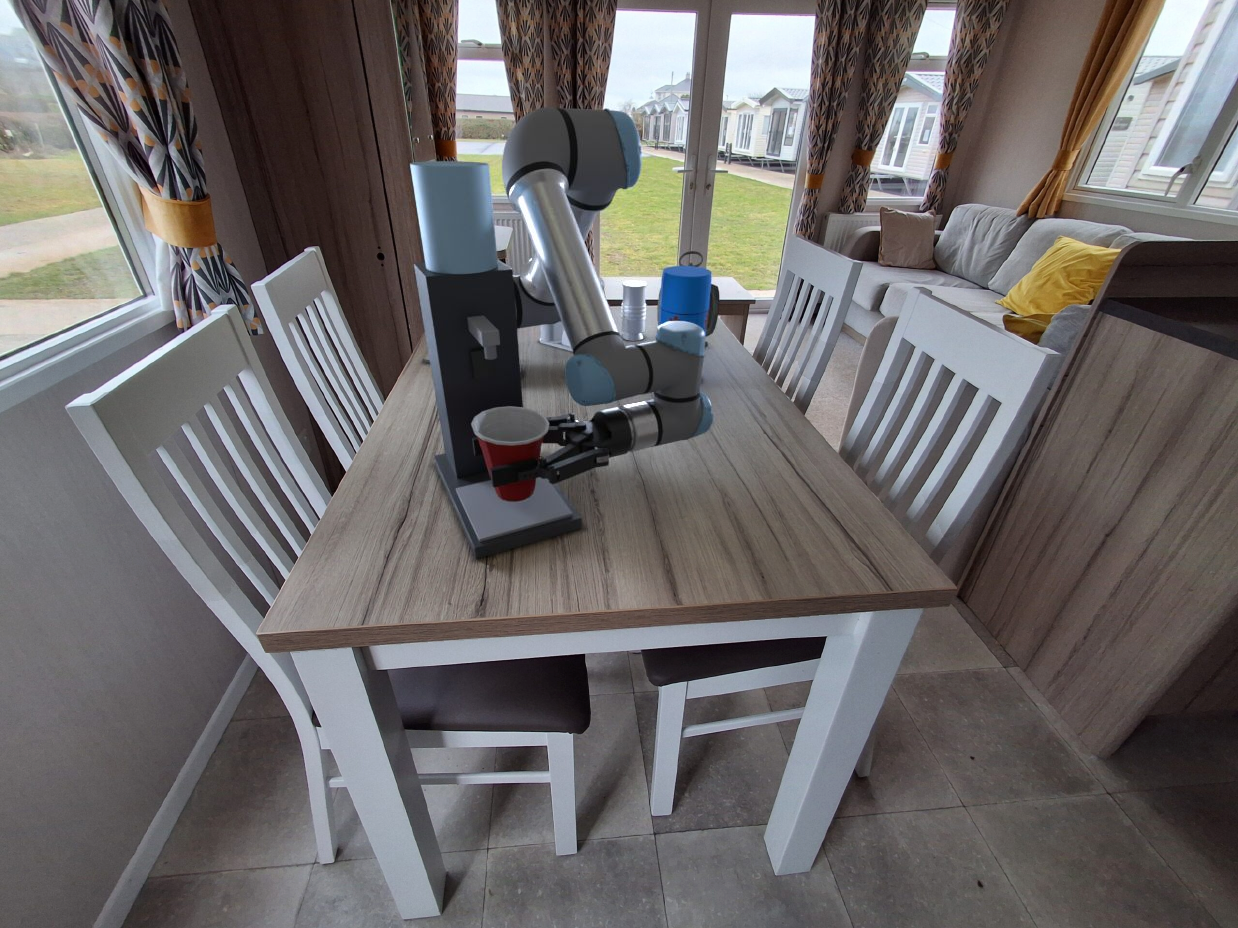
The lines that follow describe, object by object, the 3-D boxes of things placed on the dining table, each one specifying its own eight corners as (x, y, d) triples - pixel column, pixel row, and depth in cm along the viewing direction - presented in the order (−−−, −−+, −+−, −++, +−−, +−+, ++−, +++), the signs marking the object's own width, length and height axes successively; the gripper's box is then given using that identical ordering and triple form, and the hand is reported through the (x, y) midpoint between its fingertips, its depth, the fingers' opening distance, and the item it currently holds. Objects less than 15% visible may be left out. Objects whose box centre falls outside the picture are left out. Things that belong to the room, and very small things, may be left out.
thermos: (649, 383, 131) (655, 273, 118) (663, 367, 140) (670, 263, 126) (694, 391, 128) (705, 279, 115) (706, 374, 136) (717, 268, 123)
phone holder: (536, 341, 154) (532, 274, 145) (560, 332, 161) (557, 268, 152) (586, 355, 146) (585, 285, 136) (608, 345, 153) (609, 277, 144)
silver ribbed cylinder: (632, 331, 163) (634, 279, 155) (649, 337, 159) (652, 283, 151) (615, 336, 159) (616, 283, 151) (633, 342, 155) (634, 288, 147)
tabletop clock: (667, 355, 147) (674, 256, 134) (652, 344, 154) (657, 249, 141) (714, 348, 152) (725, 252, 139) (697, 338, 159) (706, 246, 146)
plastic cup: (539, 517, 79) (534, 443, 73) (468, 507, 81) (457, 434, 75) (561, 477, 88) (558, 408, 82) (496, 468, 90) (489, 401, 84)
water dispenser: (434, 464, 98) (380, 161, 74) (521, 445, 105) (498, 161, 80) (476, 559, 77) (419, 179, 53) (581, 528, 84) (575, 177, 59)
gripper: (655, 483, 82) (507, 524, 73) (594, 423, 98) (466, 450, 89) (658, 439, 78) (502, 476, 69) (594, 383, 95) (460, 408, 85)
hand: (482, 461), depth 79 cm, fingers closed on plastic cup, 9 cm apart
